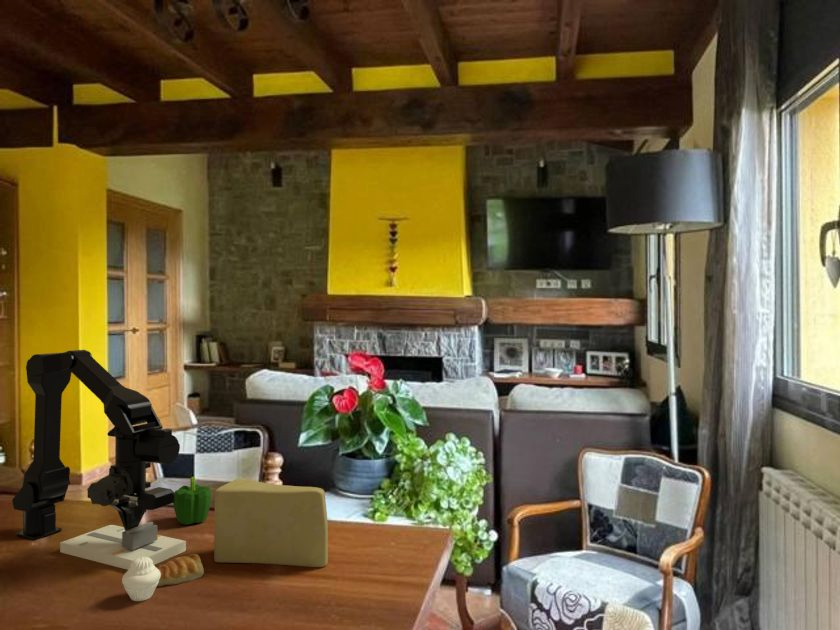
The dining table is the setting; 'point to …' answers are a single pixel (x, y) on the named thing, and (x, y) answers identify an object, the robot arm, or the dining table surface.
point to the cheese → (270, 524)
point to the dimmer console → (119, 547)
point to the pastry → (180, 570)
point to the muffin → (141, 579)
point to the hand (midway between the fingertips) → (130, 535)
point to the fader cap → (139, 536)
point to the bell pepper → (192, 503)
